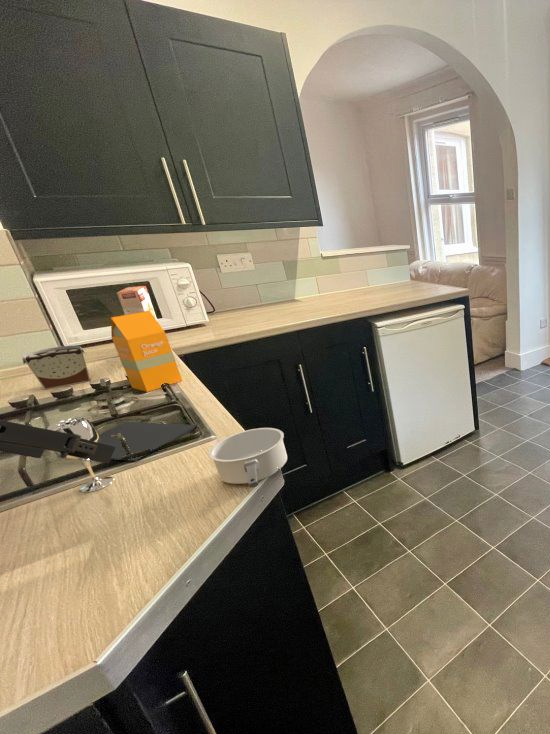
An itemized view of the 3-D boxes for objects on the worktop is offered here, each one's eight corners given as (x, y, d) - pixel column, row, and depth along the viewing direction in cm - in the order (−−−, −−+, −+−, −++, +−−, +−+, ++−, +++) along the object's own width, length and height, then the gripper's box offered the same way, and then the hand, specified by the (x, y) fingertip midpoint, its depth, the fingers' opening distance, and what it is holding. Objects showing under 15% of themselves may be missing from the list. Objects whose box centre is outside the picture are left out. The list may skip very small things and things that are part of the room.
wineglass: (74, 484, 73) (43, 423, 68) (117, 471, 77) (90, 412, 72) (74, 499, 69) (41, 435, 65) (120, 484, 73) (91, 422, 68)
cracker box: (159, 349, 148) (138, 290, 140) (138, 352, 146) (114, 292, 138) (166, 340, 160) (146, 285, 152) (146, 343, 157) (125, 286, 149)
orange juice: (182, 380, 119) (158, 311, 112) (147, 392, 112) (118, 318, 104) (166, 376, 122) (141, 309, 115) (131, 387, 115) (102, 316, 107)
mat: (57, 456, 82) (56, 454, 82) (128, 423, 95) (127, 421, 95) (136, 462, 79) (135, 460, 79) (197, 427, 92) (196, 425, 92)
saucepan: (218, 527, 62) (206, 497, 60) (218, 465, 77) (209, 439, 75) (302, 499, 68) (294, 470, 65) (286, 446, 83) (280, 422, 81)
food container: (99, 374, 126) (85, 342, 122) (97, 379, 122) (83, 346, 118) (40, 385, 119) (24, 351, 115) (37, 391, 115) (19, 356, 111)
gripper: (-214, 436, 51) (3, 470, 70) (-53, 447, 47) (129, 480, 66) (-171, 379, 53) (27, 427, 73) (-16, 385, 50) (149, 434, 69)
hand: (76, 452), depth 70 cm, fingers open, 13 cm apart
